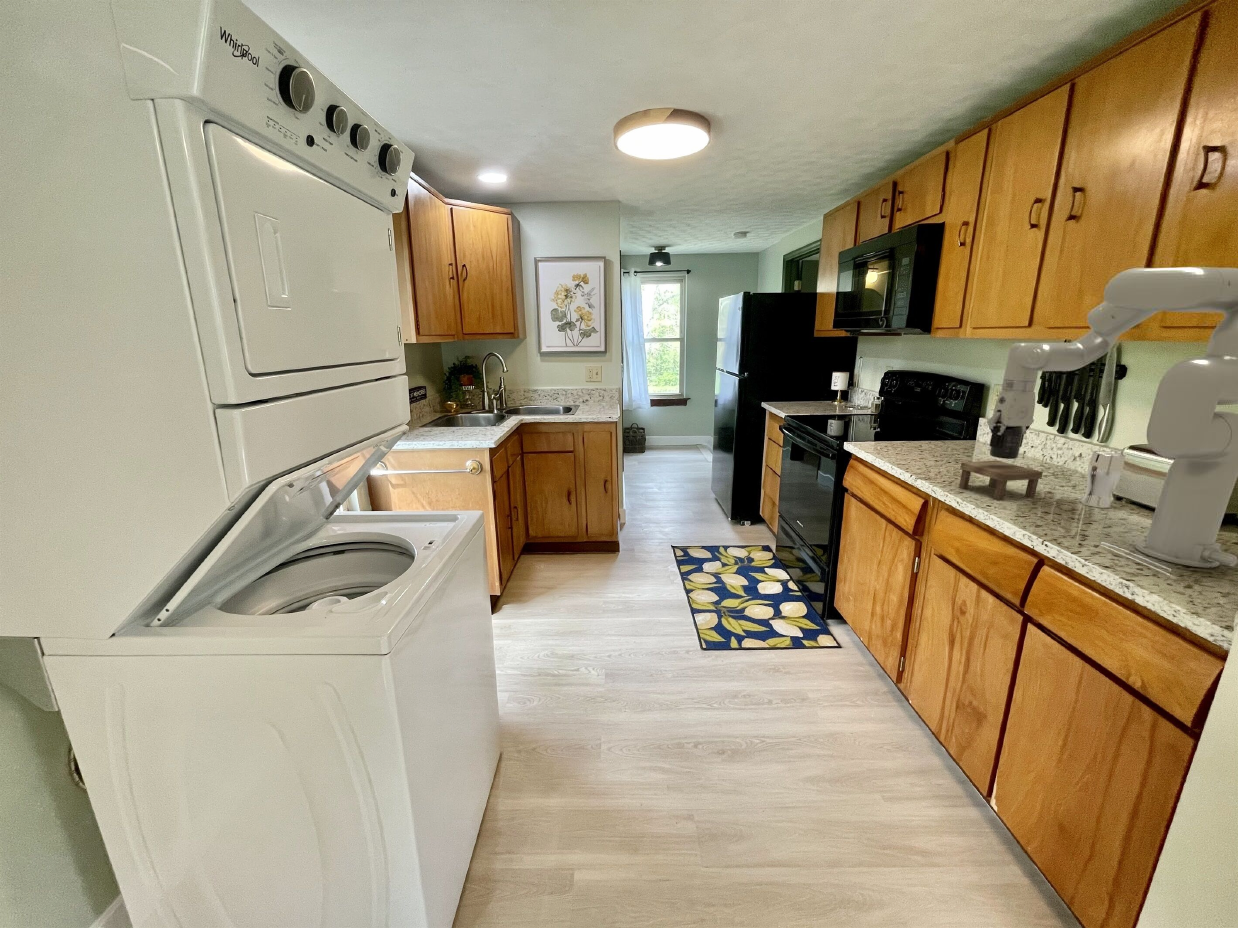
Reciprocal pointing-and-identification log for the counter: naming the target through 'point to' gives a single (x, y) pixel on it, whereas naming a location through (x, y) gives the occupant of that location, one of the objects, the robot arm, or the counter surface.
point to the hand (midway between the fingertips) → (1005, 446)
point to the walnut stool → (1000, 476)
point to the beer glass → (1102, 478)
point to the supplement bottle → (1009, 443)
